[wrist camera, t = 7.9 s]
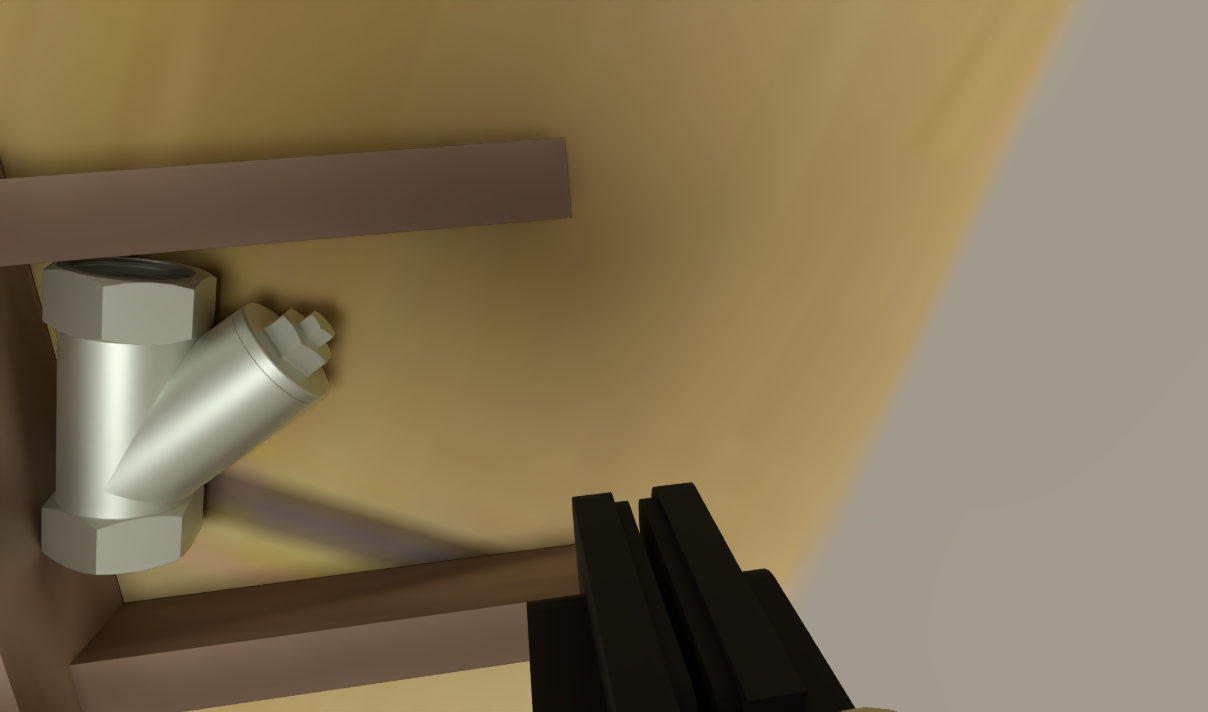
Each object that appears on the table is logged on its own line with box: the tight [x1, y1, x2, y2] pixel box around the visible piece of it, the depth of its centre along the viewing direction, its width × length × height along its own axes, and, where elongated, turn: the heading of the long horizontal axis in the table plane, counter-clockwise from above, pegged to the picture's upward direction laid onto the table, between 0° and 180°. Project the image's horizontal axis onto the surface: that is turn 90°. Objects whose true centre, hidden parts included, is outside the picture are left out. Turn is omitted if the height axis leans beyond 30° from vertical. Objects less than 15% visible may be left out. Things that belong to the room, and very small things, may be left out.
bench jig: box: [0, 137, 580, 712], centre depth 19 cm, size 17×19×7 cm
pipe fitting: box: [41, 256, 335, 575], centre depth 20 cm, size 8×4×7 cm
